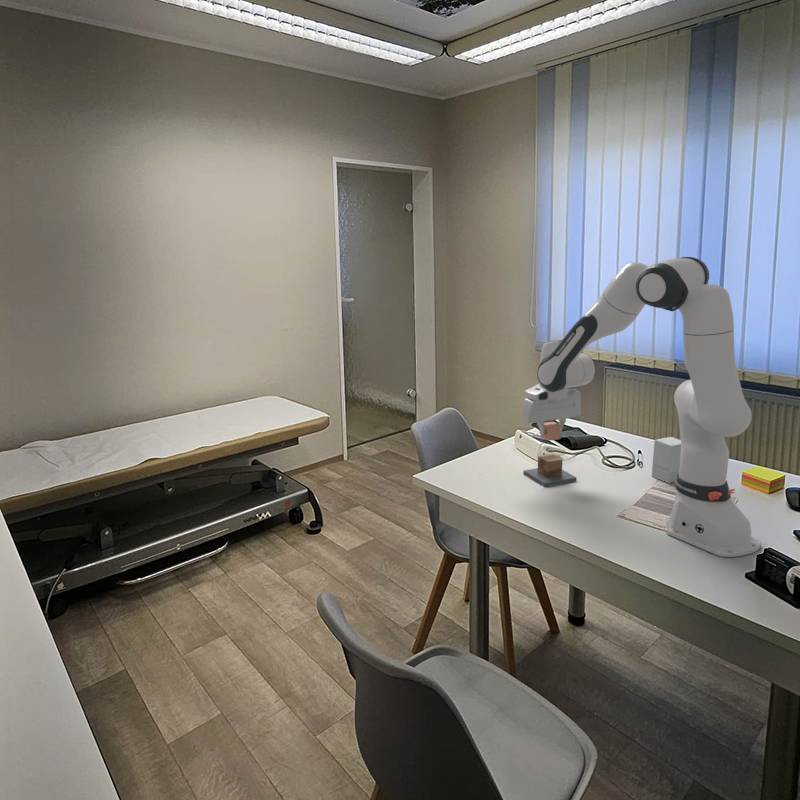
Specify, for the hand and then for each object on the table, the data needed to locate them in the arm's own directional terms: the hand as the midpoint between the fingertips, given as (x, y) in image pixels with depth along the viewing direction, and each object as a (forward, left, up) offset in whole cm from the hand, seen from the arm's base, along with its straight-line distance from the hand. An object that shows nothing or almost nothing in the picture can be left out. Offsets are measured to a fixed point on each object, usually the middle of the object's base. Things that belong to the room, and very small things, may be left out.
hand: (550, 433), depth 195 cm
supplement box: (-16, -34, -15) cm, 41 cm away
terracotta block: (0, 0, -2) cm, 2 cm away
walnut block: (0, 0, -14) cm, 14 cm away
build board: (0, 0, -15) cm, 15 cm away
